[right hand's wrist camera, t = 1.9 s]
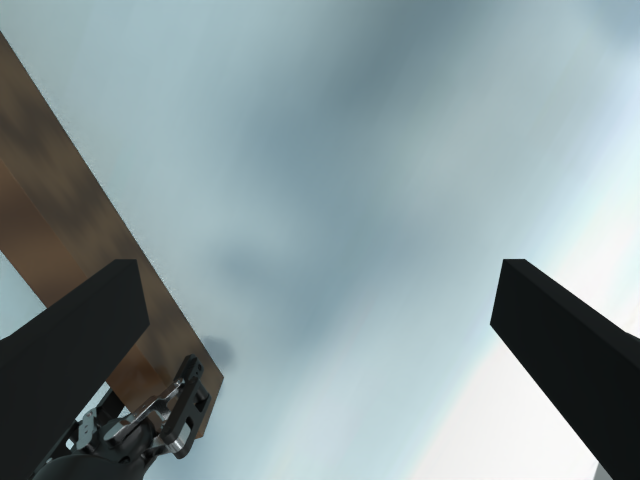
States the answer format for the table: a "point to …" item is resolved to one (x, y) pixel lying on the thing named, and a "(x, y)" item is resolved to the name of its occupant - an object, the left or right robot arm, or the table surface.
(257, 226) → the table surface
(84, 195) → the bar
